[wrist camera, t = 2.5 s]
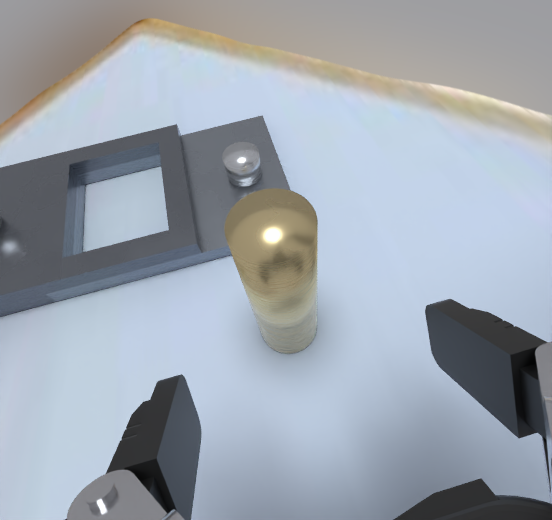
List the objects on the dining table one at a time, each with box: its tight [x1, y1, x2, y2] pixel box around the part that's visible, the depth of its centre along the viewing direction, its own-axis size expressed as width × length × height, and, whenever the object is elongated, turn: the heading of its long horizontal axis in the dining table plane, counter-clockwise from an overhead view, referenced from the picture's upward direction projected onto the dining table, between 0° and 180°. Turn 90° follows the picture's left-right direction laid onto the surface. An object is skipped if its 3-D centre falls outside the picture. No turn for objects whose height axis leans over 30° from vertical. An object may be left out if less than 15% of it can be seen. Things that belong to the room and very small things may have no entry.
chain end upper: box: [0, 124, 201, 317], centre depth 27 cm, size 18×13×4 cm
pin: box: [224, 188, 317, 354], centre depth 19 cm, size 4×4×11 cm
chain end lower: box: [46, 116, 291, 302], centre depth 28 cm, size 18×13×3 cm
